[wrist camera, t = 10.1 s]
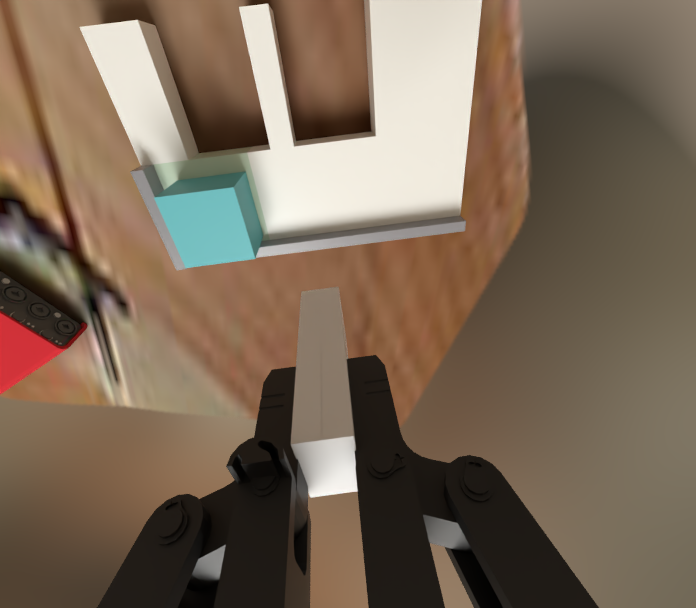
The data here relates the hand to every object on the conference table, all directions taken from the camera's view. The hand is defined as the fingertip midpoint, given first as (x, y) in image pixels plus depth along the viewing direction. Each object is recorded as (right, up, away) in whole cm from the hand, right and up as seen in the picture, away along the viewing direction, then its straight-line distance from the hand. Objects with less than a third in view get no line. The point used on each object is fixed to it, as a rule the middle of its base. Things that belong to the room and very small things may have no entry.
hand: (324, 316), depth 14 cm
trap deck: (-3, +16, +16) cm, 23 cm away
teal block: (-11, +9, +16) cm, 22 cm away
